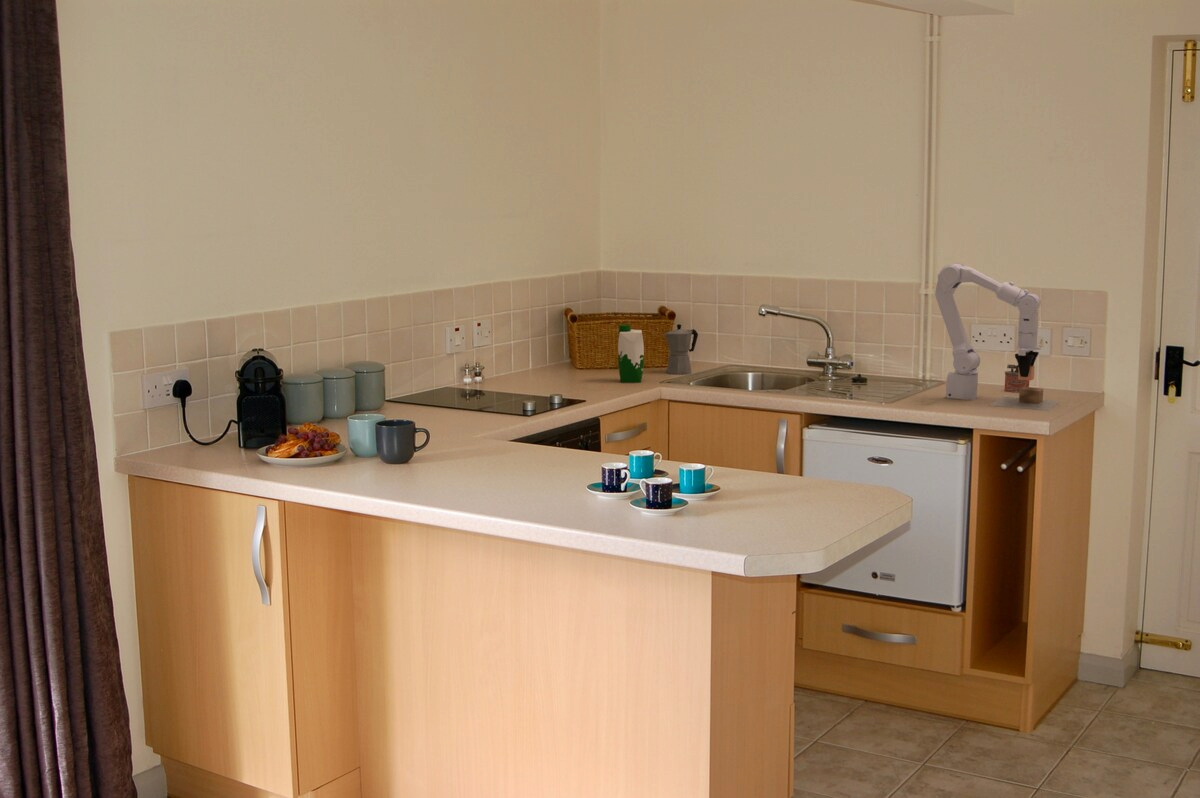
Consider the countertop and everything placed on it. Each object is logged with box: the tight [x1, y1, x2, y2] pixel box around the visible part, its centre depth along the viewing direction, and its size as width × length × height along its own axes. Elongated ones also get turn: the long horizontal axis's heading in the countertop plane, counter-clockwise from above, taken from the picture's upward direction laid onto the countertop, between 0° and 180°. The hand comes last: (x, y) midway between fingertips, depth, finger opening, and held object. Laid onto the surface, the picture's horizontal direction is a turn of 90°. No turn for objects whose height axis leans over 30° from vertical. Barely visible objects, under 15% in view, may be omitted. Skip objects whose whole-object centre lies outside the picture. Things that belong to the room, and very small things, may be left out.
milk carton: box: [617, 324, 645, 384], centre depth 453 cm, size 9×9×20 cm
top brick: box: [1018, 365, 1036, 381], centre depth 401 cm, size 4×4×4 cm
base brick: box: [1018, 386, 1044, 404], centre depth 403 cm, size 6×6×4 cm
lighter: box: [1003, 363, 1030, 393], centre depth 422 cm, size 8×3×10 cm, turn 65°
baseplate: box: [988, 396, 1061, 411], centre depth 401 cm, size 18×18×1 cm
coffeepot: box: [664, 323, 699, 376], centre depth 472 cm, size 15×9×18 cm, turn 125°
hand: (1025, 375), depth 401 cm, fingers closed on top brick, 4 cm apart
